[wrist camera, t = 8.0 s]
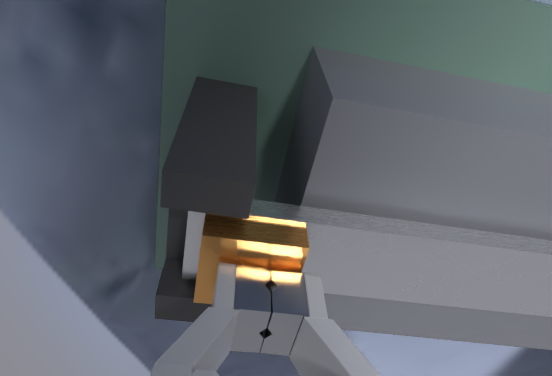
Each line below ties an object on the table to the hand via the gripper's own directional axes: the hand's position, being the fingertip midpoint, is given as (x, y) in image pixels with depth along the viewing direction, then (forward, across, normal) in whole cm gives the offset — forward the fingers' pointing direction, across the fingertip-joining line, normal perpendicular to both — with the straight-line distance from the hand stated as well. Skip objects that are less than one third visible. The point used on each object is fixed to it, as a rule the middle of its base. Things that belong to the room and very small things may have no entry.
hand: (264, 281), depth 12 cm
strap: (+2, -8, 0) cm, 9 cm away
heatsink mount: (+8, -8, 0) cm, 11 cm away
